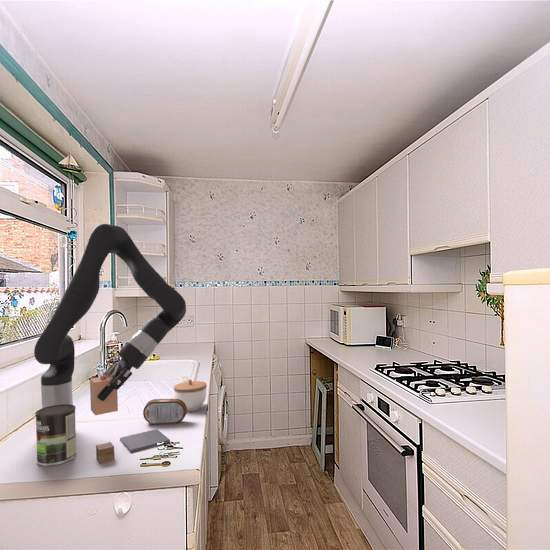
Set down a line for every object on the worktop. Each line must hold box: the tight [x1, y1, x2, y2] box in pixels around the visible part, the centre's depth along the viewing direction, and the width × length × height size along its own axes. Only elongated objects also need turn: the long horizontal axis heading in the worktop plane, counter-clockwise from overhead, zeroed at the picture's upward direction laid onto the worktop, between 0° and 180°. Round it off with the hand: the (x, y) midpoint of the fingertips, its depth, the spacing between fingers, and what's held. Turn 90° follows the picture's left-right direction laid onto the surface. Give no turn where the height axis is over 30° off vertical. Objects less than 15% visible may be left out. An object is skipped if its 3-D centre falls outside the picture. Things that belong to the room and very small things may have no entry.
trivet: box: [119, 428, 171, 454], centre depth 130 cm, size 12×12×1 cm
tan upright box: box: [89, 374, 119, 416], centre depth 118 cm, size 6×6×10 cm
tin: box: [142, 398, 188, 425], centre depth 146 cm, size 15×3×8 cm, turn 92°
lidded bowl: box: [173, 379, 208, 412], centre depth 162 cm, size 13×13×11 cm
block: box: [95, 441, 115, 465], centre depth 118 cm, size 4×4×4 cm
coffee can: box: [34, 404, 77, 467], centre depth 120 cm, size 10×10×14 cm
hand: (97, 396), depth 117 cm, fingers closed on tan upright box, 6 cm apart
